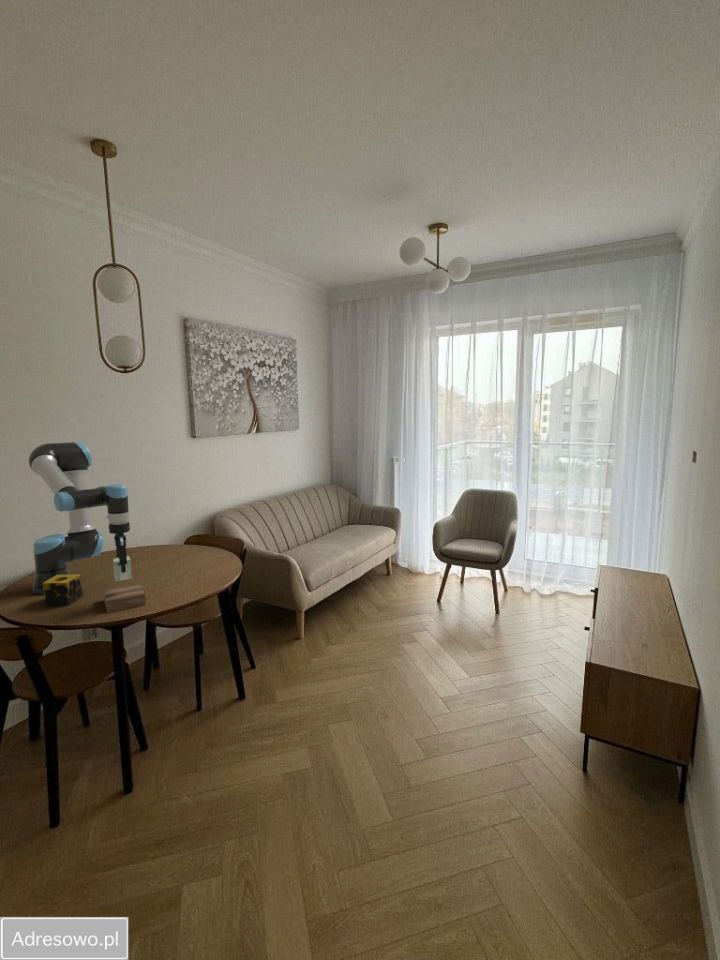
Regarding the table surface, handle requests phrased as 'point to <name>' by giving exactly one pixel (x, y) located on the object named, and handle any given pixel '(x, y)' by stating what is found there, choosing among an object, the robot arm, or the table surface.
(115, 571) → the sage block
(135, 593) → the walnut block
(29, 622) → the table surface
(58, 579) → the candle
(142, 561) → the table surface
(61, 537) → the robot arm
